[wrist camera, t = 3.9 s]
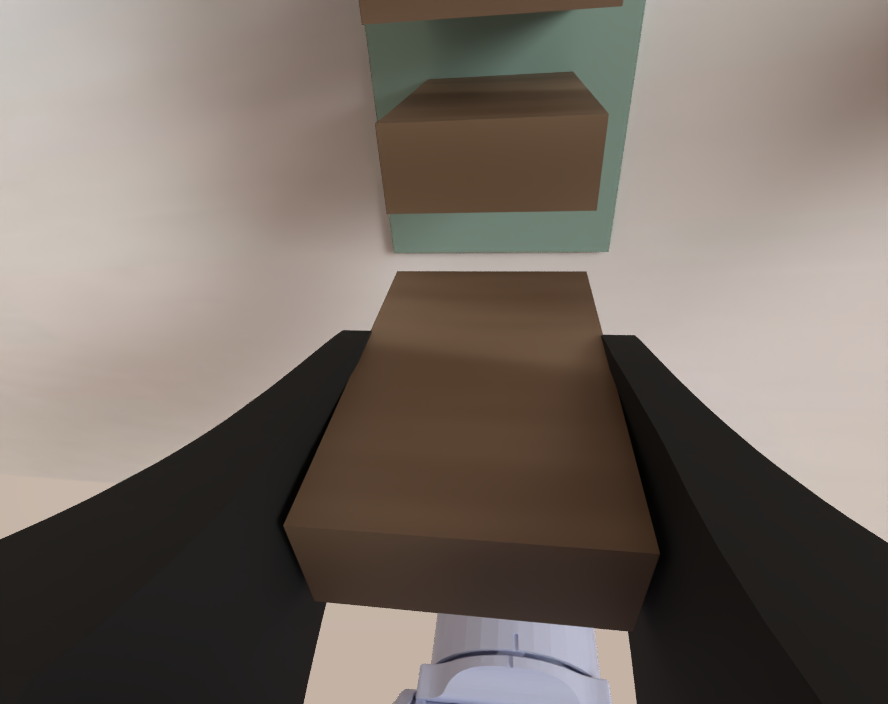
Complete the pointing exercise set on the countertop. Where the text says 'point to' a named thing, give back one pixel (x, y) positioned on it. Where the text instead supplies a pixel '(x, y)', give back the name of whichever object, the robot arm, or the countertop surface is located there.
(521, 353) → the domino
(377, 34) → the mat
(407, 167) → the domino
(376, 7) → the domino
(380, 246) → the countertop surface
